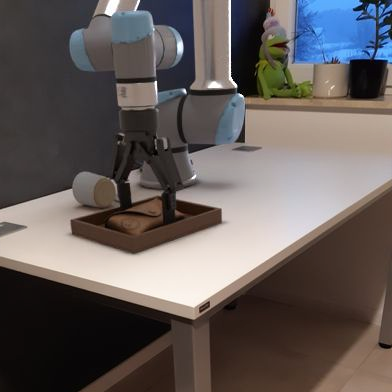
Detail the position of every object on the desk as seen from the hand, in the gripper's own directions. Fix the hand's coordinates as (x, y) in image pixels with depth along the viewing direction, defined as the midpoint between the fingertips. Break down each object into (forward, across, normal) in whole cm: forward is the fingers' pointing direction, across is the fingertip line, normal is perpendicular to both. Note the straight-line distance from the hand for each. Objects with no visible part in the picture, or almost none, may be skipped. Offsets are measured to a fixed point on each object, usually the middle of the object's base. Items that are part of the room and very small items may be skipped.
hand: (147, 220), depth 112 cm
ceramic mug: (+2, -24, +6) cm, 25 cm away
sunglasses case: (+1, 0, 0) cm, 1 cm away
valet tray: (+2, 0, 0) cm, 2 cm away
